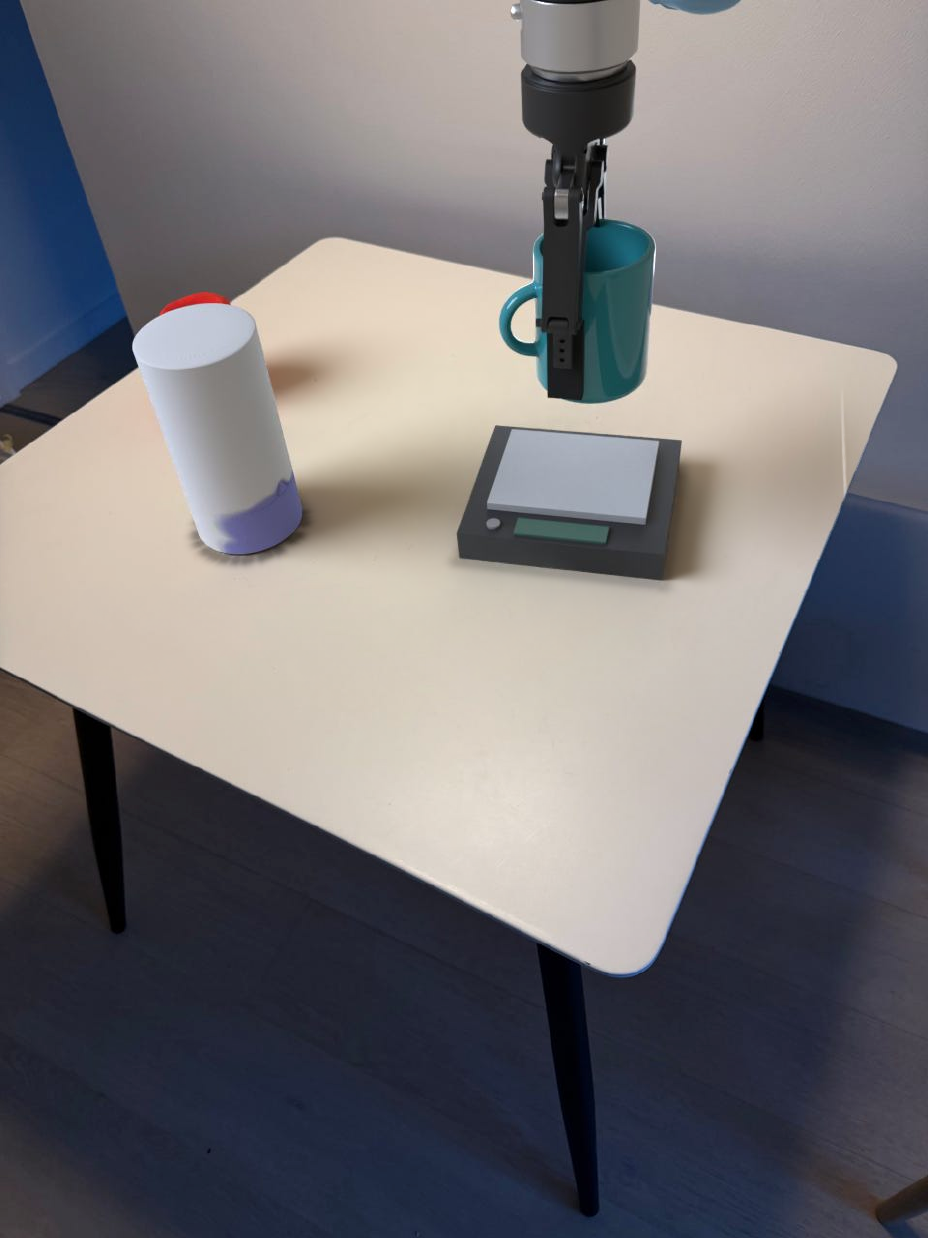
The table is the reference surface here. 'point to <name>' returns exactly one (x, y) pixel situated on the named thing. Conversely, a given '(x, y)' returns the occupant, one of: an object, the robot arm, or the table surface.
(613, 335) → the cup
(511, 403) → the table surface
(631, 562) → the scale
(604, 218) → the robot arm
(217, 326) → the container
